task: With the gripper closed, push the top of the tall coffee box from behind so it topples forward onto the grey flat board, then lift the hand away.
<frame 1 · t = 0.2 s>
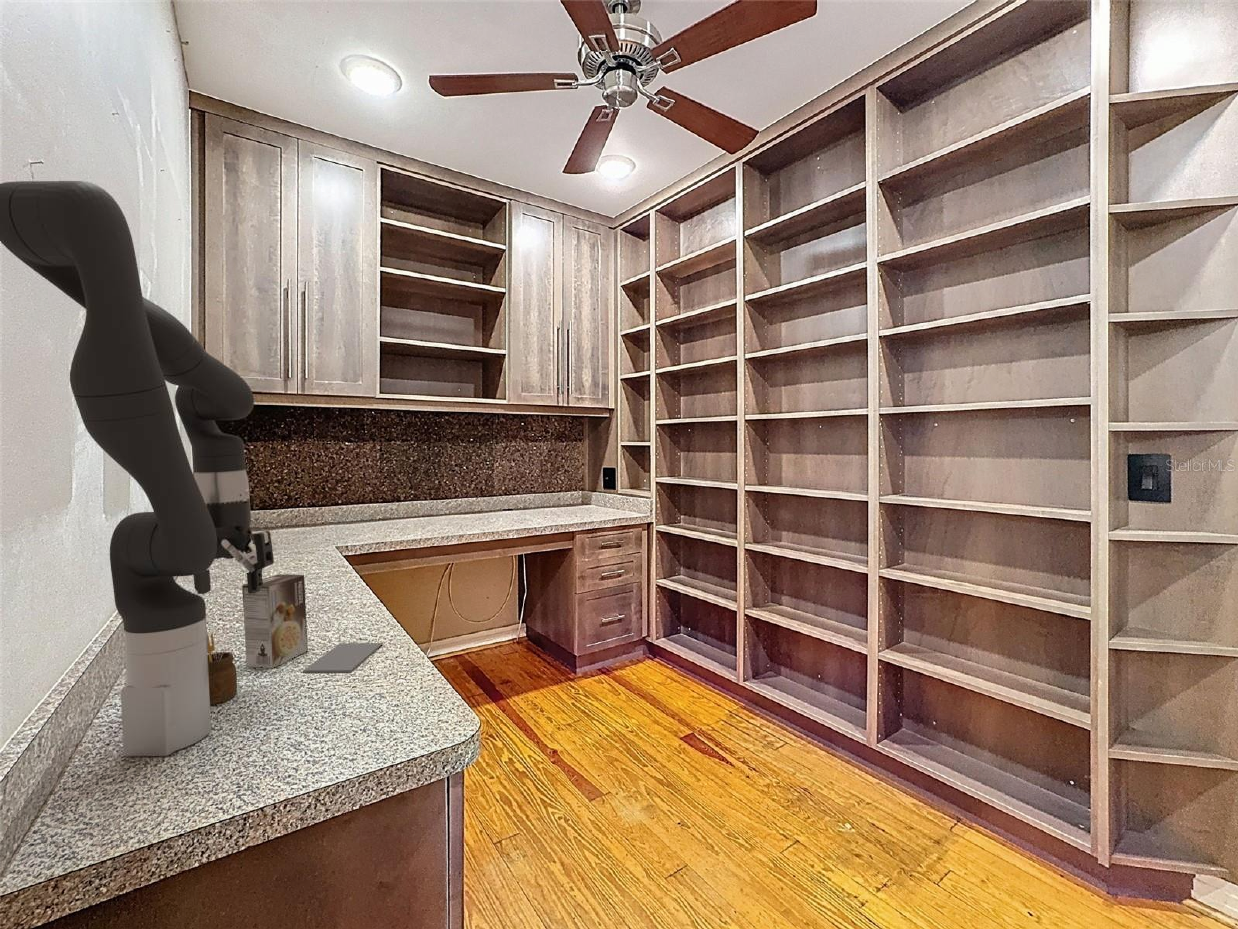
hand: (229, 592, 95), 18 cm above the table, tool pointing down, fingers open, 8 cm apart
coffee box: (277, 660, 111), on the table
grey flat board: (345, 658, 111), on the table
utensil holder: (216, 699, 94), on the table
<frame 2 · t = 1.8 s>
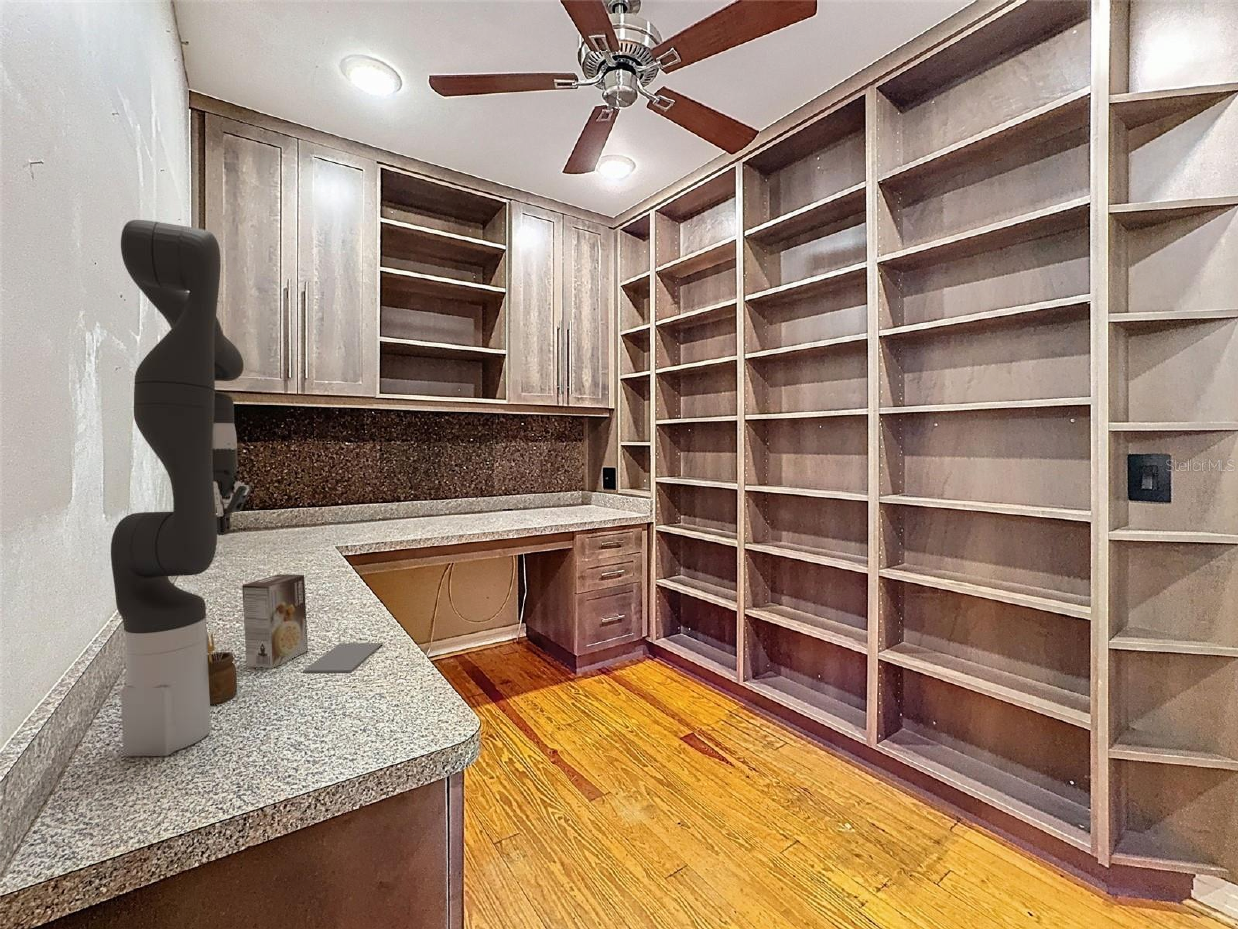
hand: (217, 534, 110), 25 cm above the table, tool pointing down, fingers closed
nothing on the table moved.
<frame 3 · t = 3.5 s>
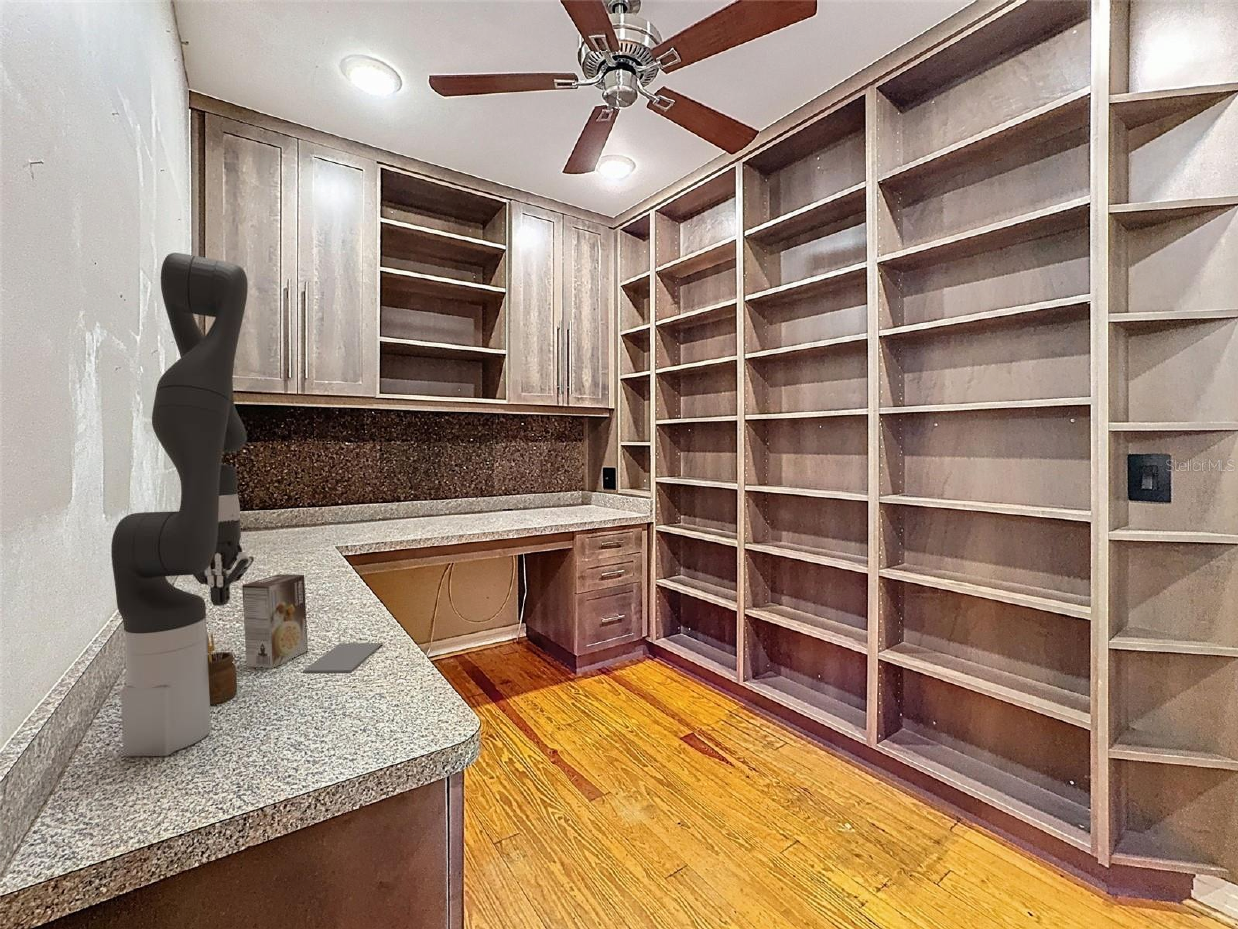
hand: (220, 604, 111), 11 cm above the table, tool pointing down, fingers closed
nothing on the table moved.
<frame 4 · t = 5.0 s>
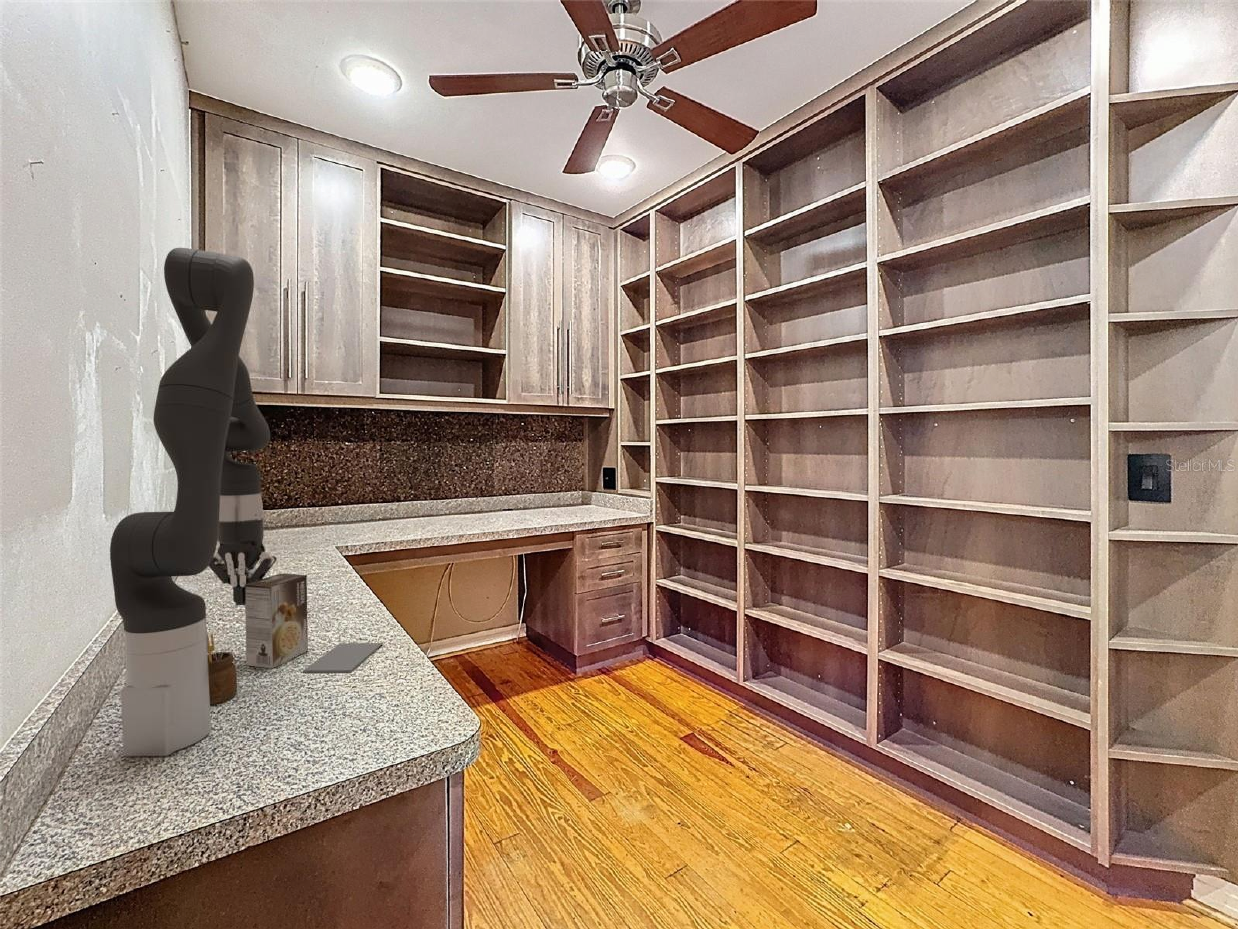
hand: (243, 604, 111), 11 cm above the table, tool pointing down, fingers closed
coffee box: (277, 659, 111), on the table, touching hand
everything else where it was.
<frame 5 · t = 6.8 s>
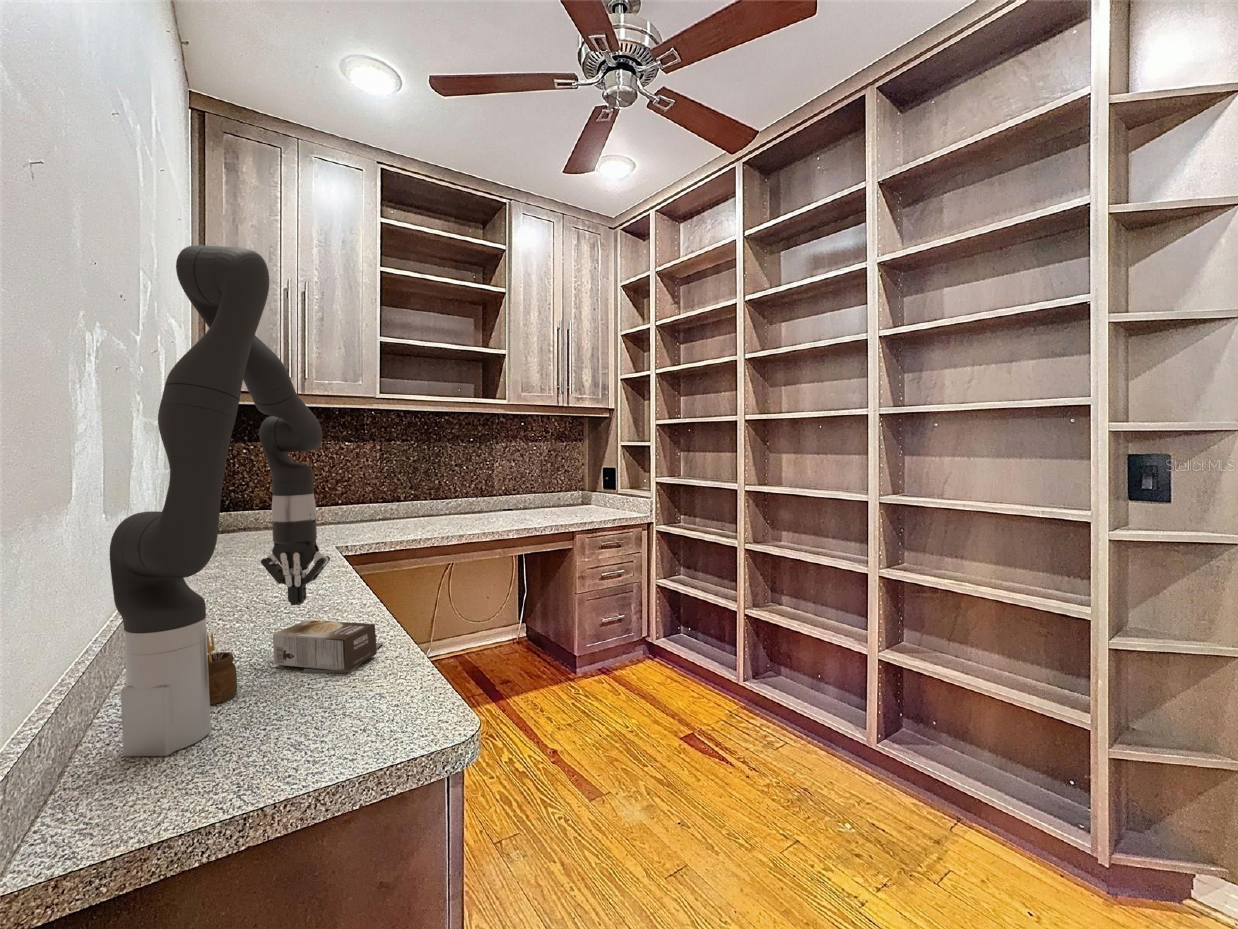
hand: (297, 604, 111), 11 cm above the table, tool pointing down, fingers closed
coffee box: (290, 641, 111), point 4 cm above the table, touching grey flat board
everything else where it was.
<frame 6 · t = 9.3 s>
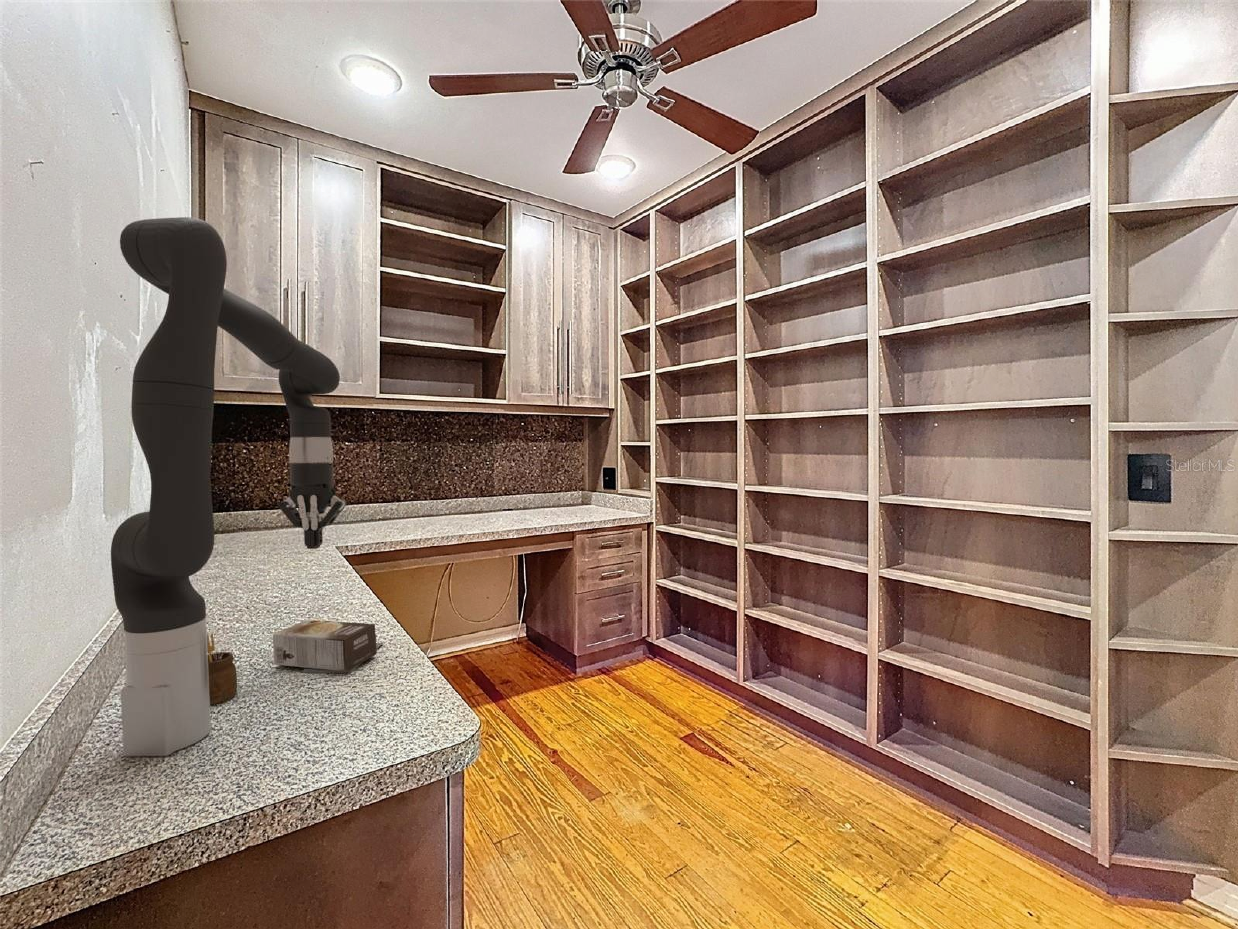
hand: (313, 548, 110), 22 cm above the table, tool pointing down, fingers closed
nothing on the table moved.
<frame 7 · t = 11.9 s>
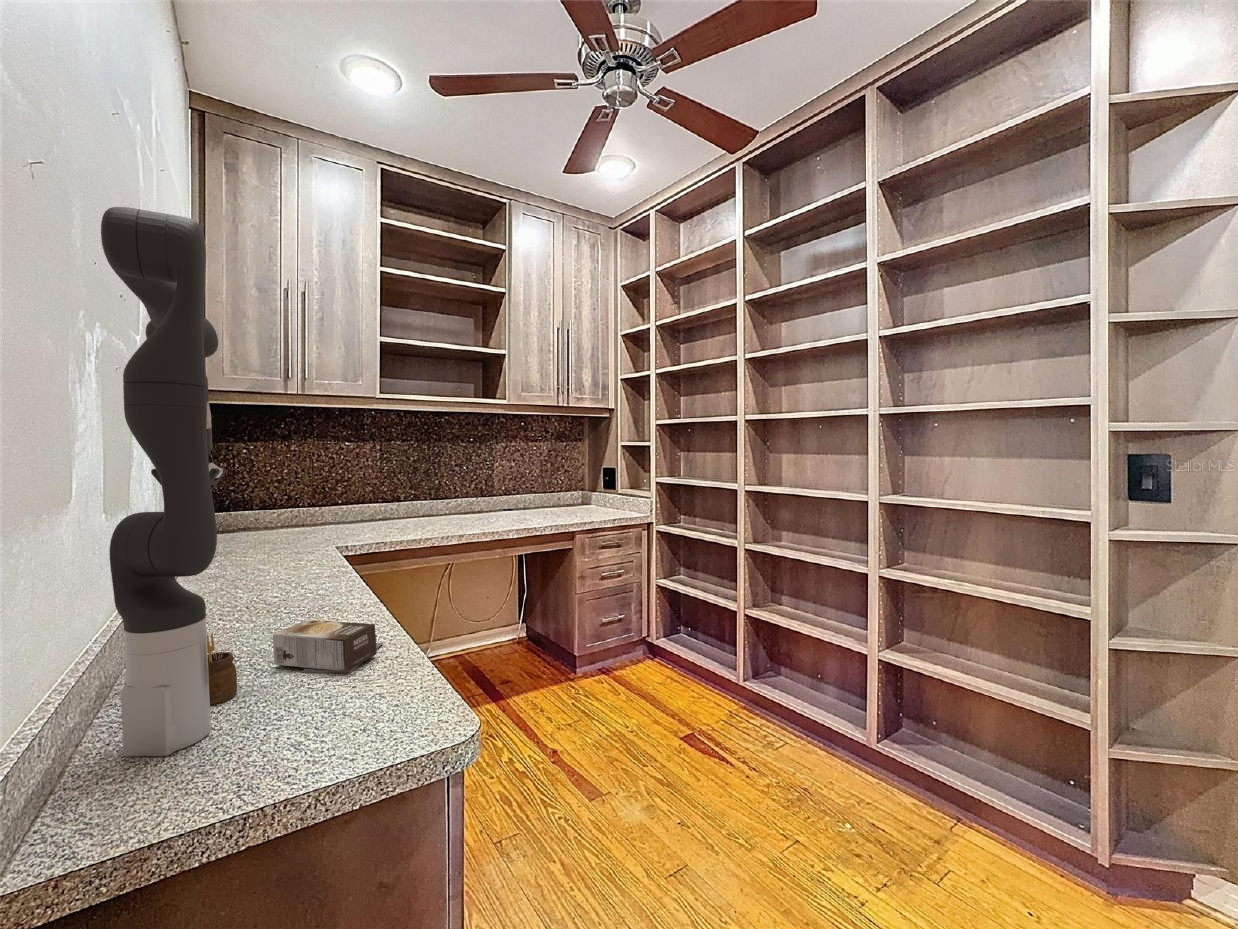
hand: (190, 517, 106), 29 cm above the table, tool pointing down, fingers closed
nothing on the table moved.
at the end: coffee box tilted 90°; coffee box touching grey flat board; the gripper is holding nothing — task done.
